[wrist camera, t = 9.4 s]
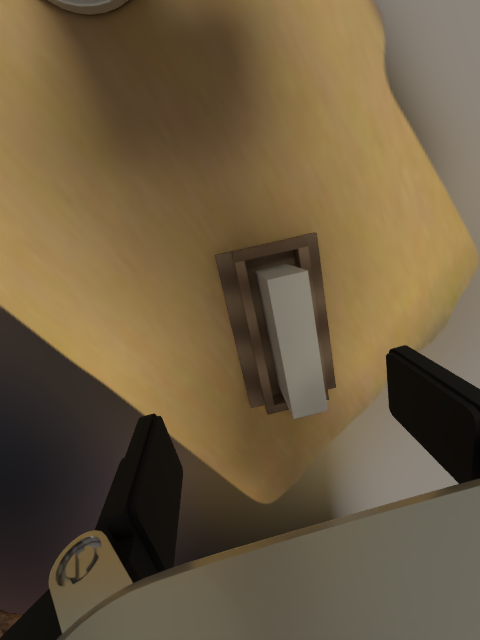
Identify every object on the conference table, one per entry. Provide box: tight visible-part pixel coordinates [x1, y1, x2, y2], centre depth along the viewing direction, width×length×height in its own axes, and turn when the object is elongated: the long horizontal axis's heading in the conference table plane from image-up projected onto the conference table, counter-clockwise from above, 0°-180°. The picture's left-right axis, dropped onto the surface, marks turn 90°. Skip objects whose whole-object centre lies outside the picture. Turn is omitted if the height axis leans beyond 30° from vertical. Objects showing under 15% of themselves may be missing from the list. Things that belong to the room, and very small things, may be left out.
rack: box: [215, 233, 336, 414], centre depth 31 cm, size 19×11×3 cm, turn 12°
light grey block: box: [255, 264, 328, 419], centre depth 28 cm, size 14×4×7 cm, turn 13°
